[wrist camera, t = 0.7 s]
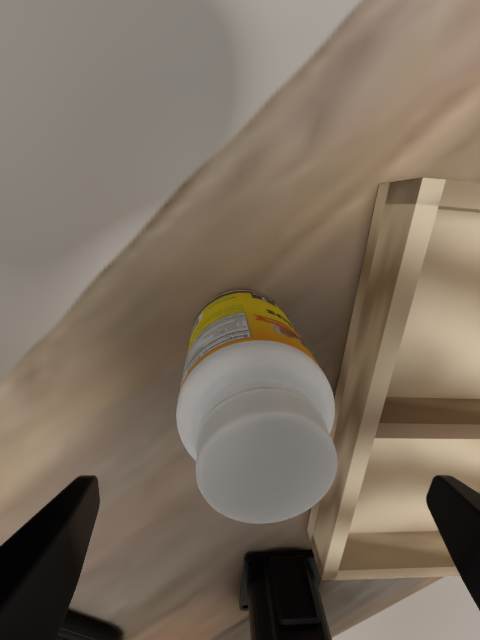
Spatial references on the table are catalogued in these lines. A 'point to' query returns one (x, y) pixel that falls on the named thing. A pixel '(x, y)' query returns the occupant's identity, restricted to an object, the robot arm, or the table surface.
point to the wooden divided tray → (405, 386)
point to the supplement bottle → (255, 412)
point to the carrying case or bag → (84, 629)
